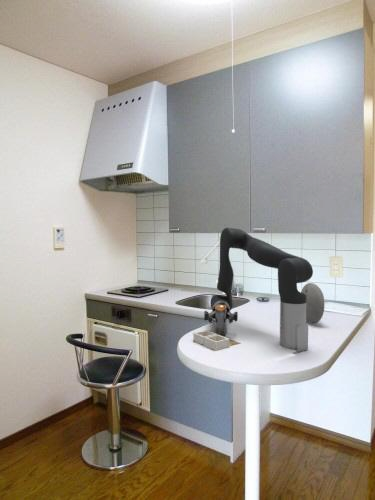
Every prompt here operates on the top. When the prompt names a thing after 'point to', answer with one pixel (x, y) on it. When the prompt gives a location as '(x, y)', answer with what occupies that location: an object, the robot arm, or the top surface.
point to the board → (231, 343)
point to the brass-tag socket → (217, 342)
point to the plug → (220, 320)
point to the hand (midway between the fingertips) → (220, 320)
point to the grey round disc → (313, 302)
